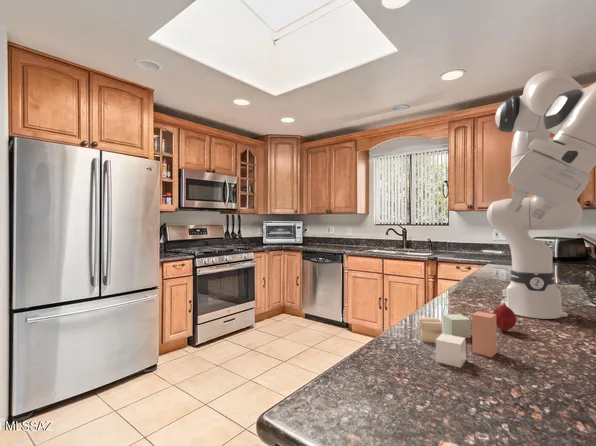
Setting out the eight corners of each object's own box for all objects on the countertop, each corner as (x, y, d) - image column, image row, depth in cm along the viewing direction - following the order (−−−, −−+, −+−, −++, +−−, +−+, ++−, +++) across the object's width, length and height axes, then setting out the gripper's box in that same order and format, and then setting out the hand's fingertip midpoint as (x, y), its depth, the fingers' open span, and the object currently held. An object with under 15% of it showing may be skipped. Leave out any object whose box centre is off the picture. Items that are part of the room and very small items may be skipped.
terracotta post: (478, 347, 79) (477, 311, 79) (496, 352, 76) (496, 314, 76) (472, 352, 76) (472, 314, 76) (491, 357, 73) (491, 317, 73)
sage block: (443, 332, 91) (442, 314, 91) (460, 331, 91) (460, 314, 91) (452, 338, 86) (451, 319, 86) (470, 338, 86) (470, 319, 86)
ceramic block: (442, 354, 75) (441, 333, 75) (465, 360, 72) (465, 337, 72) (436, 362, 71) (435, 339, 71) (460, 368, 68) (460, 344, 68)
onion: (520, 335, 87) (520, 305, 87) (497, 334, 88) (496, 305, 88) (510, 328, 93) (510, 300, 93) (489, 327, 94) (488, 300, 94)
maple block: (419, 335, 88) (418, 317, 88) (438, 336, 87) (438, 318, 87) (421, 341, 83) (421, 322, 83) (442, 343, 82) (442, 323, 82)
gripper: (578, 163, 72) (536, 215, 77) (528, 136, 62) (484, 198, 68) (609, 174, 67) (561, 229, 72) (559, 148, 57) (509, 213, 63)
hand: (524, 214), depth 70 cm, fingers open, 8 cm apart
